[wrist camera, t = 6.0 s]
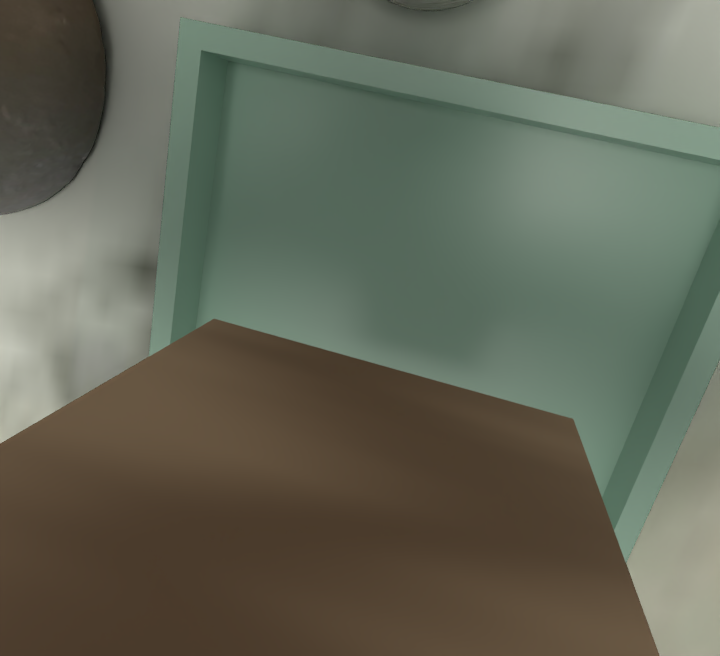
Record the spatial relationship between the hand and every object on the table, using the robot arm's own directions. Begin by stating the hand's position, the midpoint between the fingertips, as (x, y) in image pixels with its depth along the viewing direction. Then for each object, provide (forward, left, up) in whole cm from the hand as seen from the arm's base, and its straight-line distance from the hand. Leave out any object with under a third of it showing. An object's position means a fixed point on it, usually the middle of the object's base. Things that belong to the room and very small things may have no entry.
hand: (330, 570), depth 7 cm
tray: (0, 0, -10) cm, 10 cm away
